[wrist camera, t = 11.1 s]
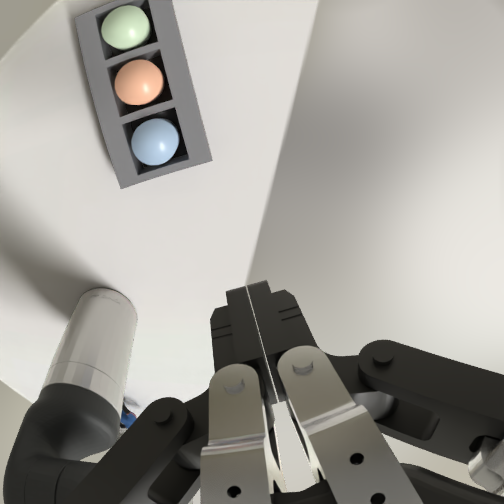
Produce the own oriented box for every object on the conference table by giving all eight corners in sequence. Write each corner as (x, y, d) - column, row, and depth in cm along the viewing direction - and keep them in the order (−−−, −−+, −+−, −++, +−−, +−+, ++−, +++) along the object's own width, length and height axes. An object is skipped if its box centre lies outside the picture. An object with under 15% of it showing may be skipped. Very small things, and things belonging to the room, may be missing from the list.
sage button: (155, 43, 27) (151, 37, 24) (115, 57, 27) (106, 53, 24) (147, 8, 25) (142, -1, 22) (107, 22, 25) (97, 15, 22)
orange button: (169, 96, 30) (166, 96, 27) (128, 110, 30) (121, 111, 27) (159, 58, 28) (155, 53, 25) (118, 72, 28) (110, 69, 25)
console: (211, 154, 35) (212, 160, 31) (128, 179, 35) (120, 189, 31) (170, -5, 26) (167, -17, 22) (86, 25, 25) (74, 17, 22)
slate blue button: (184, 152, 33) (182, 157, 30) (144, 164, 33) (139, 171, 30) (173, 112, 31) (170, 113, 28) (133, 125, 31) (125, 128, 28)
